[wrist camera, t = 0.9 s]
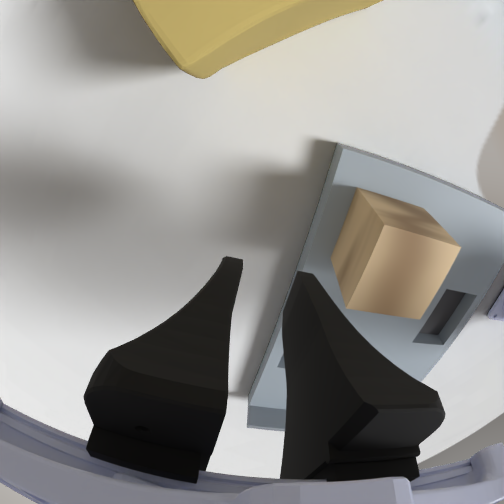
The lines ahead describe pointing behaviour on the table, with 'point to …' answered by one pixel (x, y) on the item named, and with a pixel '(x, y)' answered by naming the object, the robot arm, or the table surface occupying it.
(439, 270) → the oak block
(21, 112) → the table surface
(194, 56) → the cheese
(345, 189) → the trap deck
